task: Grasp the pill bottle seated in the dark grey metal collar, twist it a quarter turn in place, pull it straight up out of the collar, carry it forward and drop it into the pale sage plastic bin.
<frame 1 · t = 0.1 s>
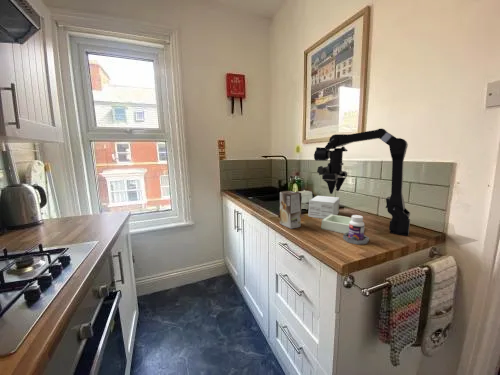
hand: (334, 192, 110), 15 cm above the countertop, fingers open, 9 cm apart
bin: (339, 227, 101), on the countertop
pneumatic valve: (304, 209, 135), on the countertop
collar: (355, 239, 87), on the countertop
coffee box: (289, 225, 106), on the countertop
supplement box: (324, 215, 123), on the countertop
pill bottle: (355, 240, 87), resting in collar
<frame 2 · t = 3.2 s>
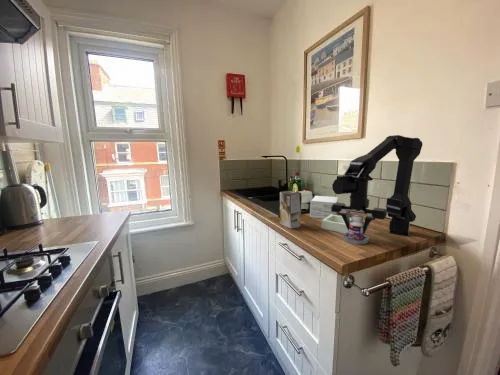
hand: (356, 231, 86), 4 cm above the countertop, fingers closed on pill bottle, 5 cm apart
pill bottle: (355, 240, 87), resting in collar, touching gripper
when the fingers open (6 cm above the countertop, at t = 8.0 s): pill bottle drops 2 cm, resting on bin.
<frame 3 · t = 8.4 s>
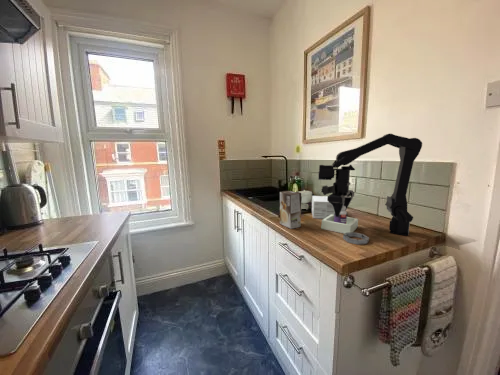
hand: (340, 214, 100), 6 cm above the countertop, fingers open, 9 cm apart
pill bottle: (339, 227, 101), resting on bin
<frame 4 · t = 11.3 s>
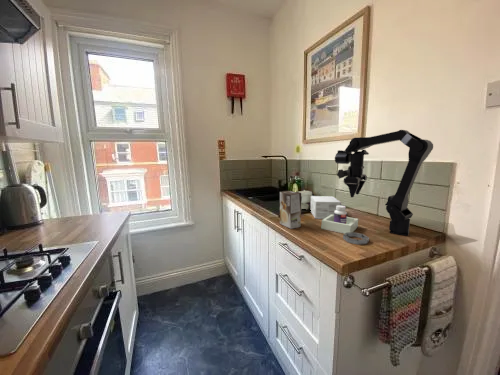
hand: (354, 195, 109), 13 cm above the countertop, fingers open, 9 cm apart
at the end: pill bottle inside the target area on the bin (0.0 cm from its centre), point 0.3 cm above the bin's base; the gripper is holding nothing; pill bottle touching bin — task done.
